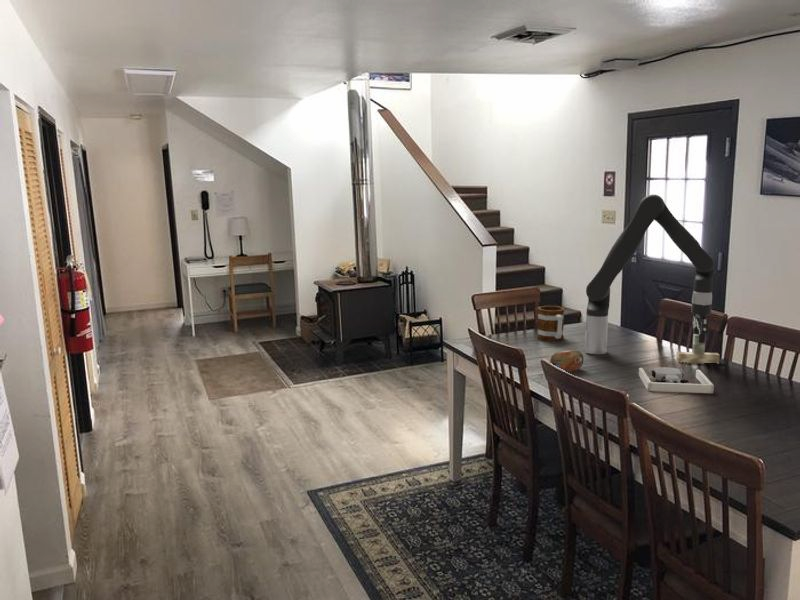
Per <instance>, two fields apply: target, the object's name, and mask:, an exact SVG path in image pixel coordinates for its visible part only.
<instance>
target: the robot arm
mask: <svg viewBox="0 0 800 600" xmlns="http://www.w3.org/2000/svg"><path fill="white" fill-rule="evenodd" d="M654 221H655V222H657V223H658V225H660V227H661V228H663V230H664V231H665V232H666V234H667V235H668V237H669V238H670V239H671V240H672V242H673V243H674V244H675V246H677V248H678V249H679V250H680V251H681V252H682V254H684V255H685V256H686V257H687V258H688V260H689V261H690V262H691V264H692V265H693V266H694V268H695V277H694V281H693V290H692V297H691V309H690V312H691V313H692V322H691V323H692V325H691V326H692V329H693V334H699V343H705V344H706V335H707V334H708V333H709V331H708V330H709V319H708V318H707V317H706V316H709V315H711V313H712V303H713V285H714V284H713V283H714V282H713V277H714V270H715V258H714V256H713V255H711V254H709V253H707V251H705V249H703V247H701V244H700V243H699V241H698V240H697V239H696V238H695V236H693V234H691V232H689V231H688V230H687V229H686V228H685V227H684V226H683V225H682V223H680V221H678V219H677V218H676V217H675V216H674V215H673V213H672V211H670V209H669V208H668V206H667V205H666V203H665V201H664V199H663V198H662V197H661V196H659V195H658V194H648V195H646V196H644V197H643V198H642V199H641V200H640V203H639V204H638V207H637V209H636V212H635V213H634V214H633V217H632V219H631V220H630V222H629V223H628V224H627V226H626V227H625V228H624V229H623V231H622V232H621V233H620V234H619V236H618V237H617V239H616V241H615V242H614V244H613V245H612V246H611V248H610V250H609V252H608V254H607V256H606V257H605V259H604V262H603V263H602V266H601V267H600V269H599V270H598V272H597V273H596V274H595V276H594V277H593V278H592V279H591V280H590V282H588V284H587V286H586V290H585V292H586V296H587V298H588V299H587V300H588V301H587V307H586V318H585V331H584V351H585V353H586V354H590V355H604V354H607V353H608V352H607V350H608V329H609V328H608V327H609V326H608V323H609V309H610V302H611V285H612V284H613V283H614V280H615V279H616V278H617V276H618V275H619V274H620V273H621V272H622V270H623V269H624V268H625V267H626V266H627V265H628V263H629V262H630V261H631V259H632V258H633V257H634V256H635V253H636V252H637V250H638V248H639V246H640V244H641V243H642V241H643V238H644V235H645V234H646V232H647V230H648V228H649V227H650V226H651V225H652V223H653V222H654ZM693 334H692V335H693Z"/></svg>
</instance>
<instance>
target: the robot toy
mask: <svg viewBox="0 0 800 600" xmlns="http://www.w3.org/2000/svg"><path fill="white" fill-rule="evenodd" d="M648 370H649V372H650V376H652V377H653V379H655V381H656V380H657V381H658V382H659V383H687V384H692V383H691V382H689V380H686V379H685V378H684V377H685V373H684V372H683V369H682V368H680V369H679V368H677V367H668V366H667V367H666V366H663V367H655V368H653V370H651V368H650V367H649V368H648Z"/></svg>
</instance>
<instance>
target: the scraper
mask: <svg viewBox="0 0 800 600" xmlns="http://www.w3.org/2000/svg"><path fill="white" fill-rule="evenodd" d="M705 347H706V342H705V343H699V334H692V347H691V348H692V349H691V350H692V351H689V352H688V351H683V352H682V351H676V362H677V361H678V362H680V363H679V364H704V363H717V364H716V365H719V364H720V355H721V354H719V353H718V352H705V350H706V348H705ZM678 362H677V363H678ZM682 362H684V363H682ZM685 362H687V363H685Z"/></svg>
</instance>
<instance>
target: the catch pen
mask: <svg viewBox="0 0 800 600" xmlns="http://www.w3.org/2000/svg"><path fill="white" fill-rule="evenodd" d="M638 376H639V379H640V380H641V382H642V383H643V385H644V387H645V388H646V390H647V391H648V392H669V393H672V392H673V393H691V394H692V393H693V394H695V393H696V394H714V391H715V390H714V388H715V384H713V382H712V381H710V379H709V377H707V376H706V375H705V374H704V373H703V372H702V370H701V369H696V370H695V378H696V379H697V380H698V381H699V383H691V384H687V383H681V382H680V383H660V382H659V381H658V382H655V381H654V382H653V381H651V380H650V378H649V375H648V374H647V373H646V371H645V370H644V368H643V367H639V368H638Z"/></svg>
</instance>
